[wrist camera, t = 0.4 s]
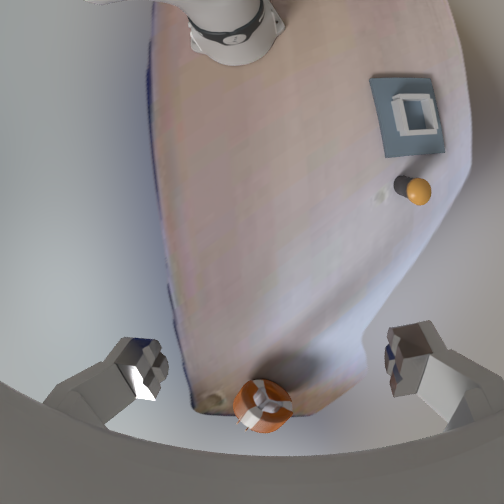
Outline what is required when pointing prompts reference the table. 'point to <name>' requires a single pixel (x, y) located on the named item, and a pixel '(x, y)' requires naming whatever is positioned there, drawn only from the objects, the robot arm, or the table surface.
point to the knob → (413, 189)
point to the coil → (262, 406)
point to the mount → (407, 116)
